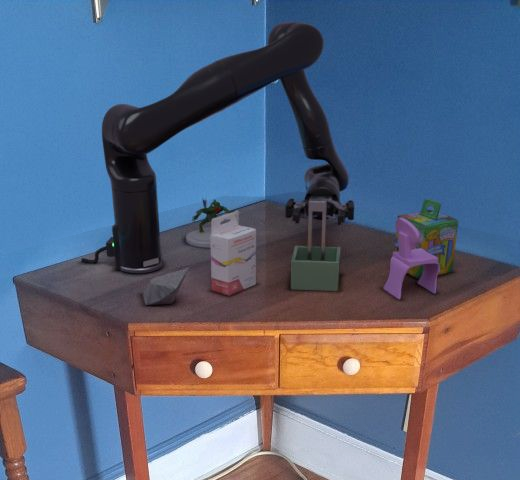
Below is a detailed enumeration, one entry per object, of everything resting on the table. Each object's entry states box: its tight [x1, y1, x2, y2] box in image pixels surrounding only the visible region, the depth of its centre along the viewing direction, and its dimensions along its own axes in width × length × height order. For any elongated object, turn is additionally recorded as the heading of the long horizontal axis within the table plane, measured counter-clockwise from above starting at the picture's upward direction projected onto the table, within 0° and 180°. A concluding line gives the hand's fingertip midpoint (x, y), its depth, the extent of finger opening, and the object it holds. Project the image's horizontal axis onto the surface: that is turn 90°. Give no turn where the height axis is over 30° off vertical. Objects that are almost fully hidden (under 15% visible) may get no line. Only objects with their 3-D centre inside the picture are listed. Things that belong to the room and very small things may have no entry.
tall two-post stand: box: [307, 198, 327, 261], centre depth 162 cm, size 4×4×17 cm
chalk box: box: [393, 198, 459, 281], centre depth 168 cm, size 9×9×15 cm
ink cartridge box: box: [210, 210, 257, 297], centre depth 160 cm, size 9×5×15 cm, turn 141°
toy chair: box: [382, 217, 439, 300], centre depth 157 cm, size 8×9×15 cm
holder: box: [290, 245, 342, 292], centre depth 164 cm, size 9×9×6 cm
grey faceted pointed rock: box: [142, 267, 190, 306], centre depth 156 cm, size 12×6×9 cm
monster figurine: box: [185, 197, 236, 249], centre depth 188 cm, size 12×12×10 cm
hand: (318, 219), depth 163 cm, fingers open, 8 cm apart
